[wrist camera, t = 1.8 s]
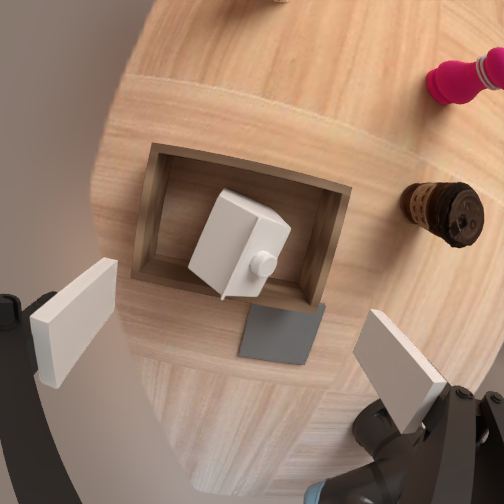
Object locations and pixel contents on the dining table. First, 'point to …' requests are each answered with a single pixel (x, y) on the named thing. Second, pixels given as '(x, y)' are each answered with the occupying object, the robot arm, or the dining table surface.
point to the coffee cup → (445, 211)
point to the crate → (274, 290)
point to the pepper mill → (466, 78)
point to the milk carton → (239, 245)
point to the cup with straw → (281, 1)
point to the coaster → (279, 334)
